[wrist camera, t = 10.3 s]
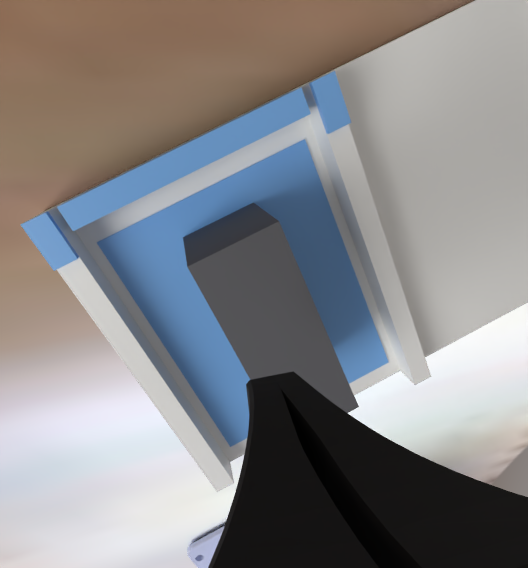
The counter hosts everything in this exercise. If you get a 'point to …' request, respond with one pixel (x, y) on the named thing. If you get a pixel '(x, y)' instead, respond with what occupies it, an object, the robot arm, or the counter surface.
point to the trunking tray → (323, 221)
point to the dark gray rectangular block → (264, 301)
